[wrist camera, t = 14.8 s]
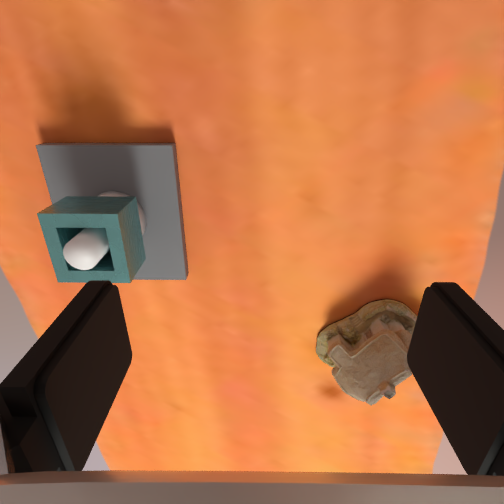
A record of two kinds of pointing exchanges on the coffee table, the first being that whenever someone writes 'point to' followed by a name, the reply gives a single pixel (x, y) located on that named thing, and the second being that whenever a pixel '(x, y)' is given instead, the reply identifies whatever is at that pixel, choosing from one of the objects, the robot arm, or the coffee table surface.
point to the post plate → (134, 180)
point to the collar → (95, 216)
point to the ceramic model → (369, 349)
